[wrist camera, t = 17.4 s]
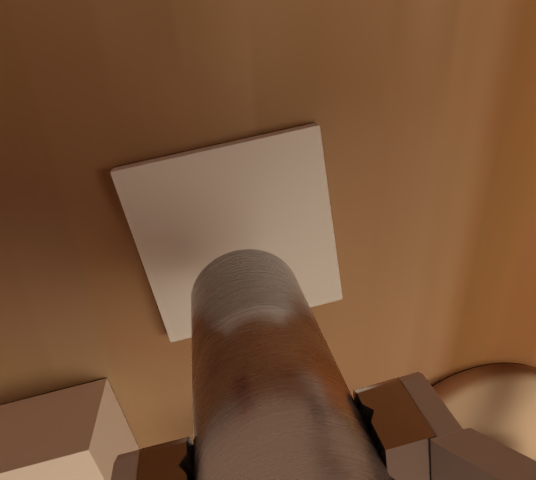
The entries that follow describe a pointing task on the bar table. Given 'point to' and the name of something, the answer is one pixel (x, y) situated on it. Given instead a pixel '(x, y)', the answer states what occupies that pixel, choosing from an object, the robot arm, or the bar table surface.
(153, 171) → the pad
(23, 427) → the eye block
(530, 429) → the round tan disc
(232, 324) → the hook peg
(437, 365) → the bar table surface
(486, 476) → the robot arm
